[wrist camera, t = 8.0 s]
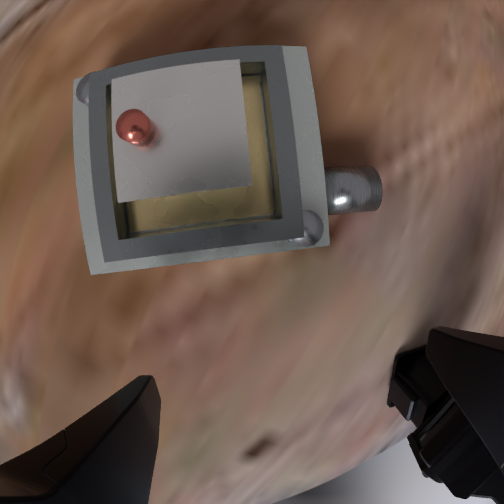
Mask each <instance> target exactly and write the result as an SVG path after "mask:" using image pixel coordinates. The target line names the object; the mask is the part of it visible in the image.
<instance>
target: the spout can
mask: <svg viewBox="0 0 504 504" xmlns="http://www.w3.org/2000/svg"><path fill="white" fill-rule="evenodd" d="M111 106H112V139H113V156H114V169H115V180H116V190H117V199H118V203H122V202H129V201H136V200H144V199H152V198H159V197H166V196H173V195H180V194H188V193H196V192H204V191H212V190H221V189H230V188H240V187H246V186H251V185H252V178H251V168H250V158H249V148H248V138H247V128H246V118H245V108H244V98H243V88H242V79H241V69H240V60H239V59H237V60H223V61H212V62H202V63H194V64H186V65H179V66H173V67H167V68H161V69H156V70H150V71H145V72H141V73H136V74H132V75H127V76H123V77H119V78H115V79H112V87H111Z"/></svg>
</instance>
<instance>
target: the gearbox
mask: <svg viewBox="0 0 504 504" xmlns="http://www.w3.org/2000/svg"><path fill="white" fill-rule="evenodd" d="M237 59H239V60H240V69H241V79H242V88H243V98H244V108H245V118H246V128H247V138H248V148H249V158H250V168H251V178H252V185H251V186H246V187H240V188H230V189H221V190H212V191H204V192H196V193H188V194H180V195H173V196H166V197H159V198H152V199H144V200H136V201H129V202H122V203H118V199H117V190H116V180H115V169H114V156H113V139H112V106H111V87H112V79H115V78H119V77H123V76H127V75H132V74H136V73H141V72H145V71H150V70H156V69H161V68H167V67H173V66H179V65H186V64H194V63H202V62H212V61H223V60H237ZM73 144H74V162H75V175H76V186H77V195H78V204H79V211H80V218H81V225H82V231H83V237H84V243H85V248H86V254H87V259H88V264H89V268H90V273H91V275H95V274H103V273H111V272H119V271H128V270H136V269H144V268H152V267H160V266H169V265H177V264H185V263H193V262H201V261H209V260H217V259H225V258H233V257H241V256H249V255H257V254H265V253H273V252H281V251H289V250H297V249H305V248H313V247H321V246H329V245H330V241H329V224H328V215H335V214H346V213H357V212H368V211H376V210H377V209H378V208H379V206H380V204H381V201H382V183H381V179H380V176H379V174H378V172H377V170H376V169H375V168H374V167H372V166H353V167H327V168H324V164H323V155H322V146H321V138H320V130H319V122H318V115H317V108H316V101H315V95H314V88H313V82H312V76H311V70H310V65H309V59H308V54H307V48H306V47H303V46H282V45H253V46H234V47H221V48H211V49H202V50H194V51H187V52H180V53H174V54H168V55H162V56H157V57H152V58H147V59H143V60H138V61H134V62H130V63H126V64H122V65H118V66H114V67H110V68H107V69H103V70H100V71H97V72H91V73H89V74H87V75H85V76H84V77H81V78H78V79H75V80H74V87H73Z"/></svg>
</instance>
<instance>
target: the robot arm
mask: <svg viewBox="0 0 504 504" xmlns="http://www.w3.org/2000/svg"><path fill="white" fill-rule="evenodd" d="M387 405H388V406H389V407H394V406H396V408H397V409H398V410H399V412H400V413H401V414H402V415H403V417H404V418H405V419H406V420H407V421H409V420H411V421H412V422H413V423H414V425H415V426H416V427H417V429H416V430H415V431H414V432H413V433H411V434H410V435H409V436H408V437H407V439H408V441H409V443H410V444H409V445H410V447H411V449H412V451H413V453H414V456H415V458H416V460H417V462H418V464H419V467H420V469H421V471H422V474H423V476H424V477H426V478H428V477H430V478H431V479H433V480H434V481H436V482H438V483H444V484H445V485H446V486H447V487H448V489H449V490H450V491H451V493H452V494H453V495H454V496H455V497H458V498H462V499H467V498H469V497H470V496H474V497H482V498H491V499H492V500H493V501H494V502H495V503H496V504H504V337H500V336H494V335H487V334H482V333H476V332H470V331H464V330H459V329H453V328H448V327H442V326H439V327H436V328H433V329H431V330H430V332H429V335H428V341H427V345H425V346H422V347H419V348H416V349H413V350H410V351H407V352H404V353H401V354H398V355H397V356H396V357H395V360H394V367H393V373H392V378H391V382H390V388H389V393H388V401H387ZM160 410H161V398H160V395H159V392H158V388H157V385H156V382H155V379H154V377H153V376H151V375H141V376H138V377H137V378H136V379H134V380H133V381H131V382H130V383H129V384H127V385H126V386H124V387H123V388H122V389H120V390H119V391H118V392H116V393H115V394H113V395H112V396H111V397H109V398H108V399H106V400H105V401H103V402H102V403H101V404H99V405H98V406H96V407H95V408H93V409H92V410H91V411H89V412H88V413H86V414H85V415H83V416H82V417H81V418H79V419H78V420H76V421H75V422H73V423H72V424H70V425H69V426H67V427H66V428H65V430H61V431H60V432H59V433H57V434H56V435H54V436H53V437H51V438H49V439H48V440H46V441H45V442H43V443H41V444H40V445H38V446H36V447H34V448H32V449H31V450H29V451H27V452H25V453H23V454H21V455H19V456H17V457H15V458H13V459H11V460H9V461H7V462H5V463H3V464H1V465H0V504H148V501H149V495H150V489H151V482H152V477H153V471H154V465H155V460H156V454H157V448H158V441H159V425H160Z"/></svg>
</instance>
